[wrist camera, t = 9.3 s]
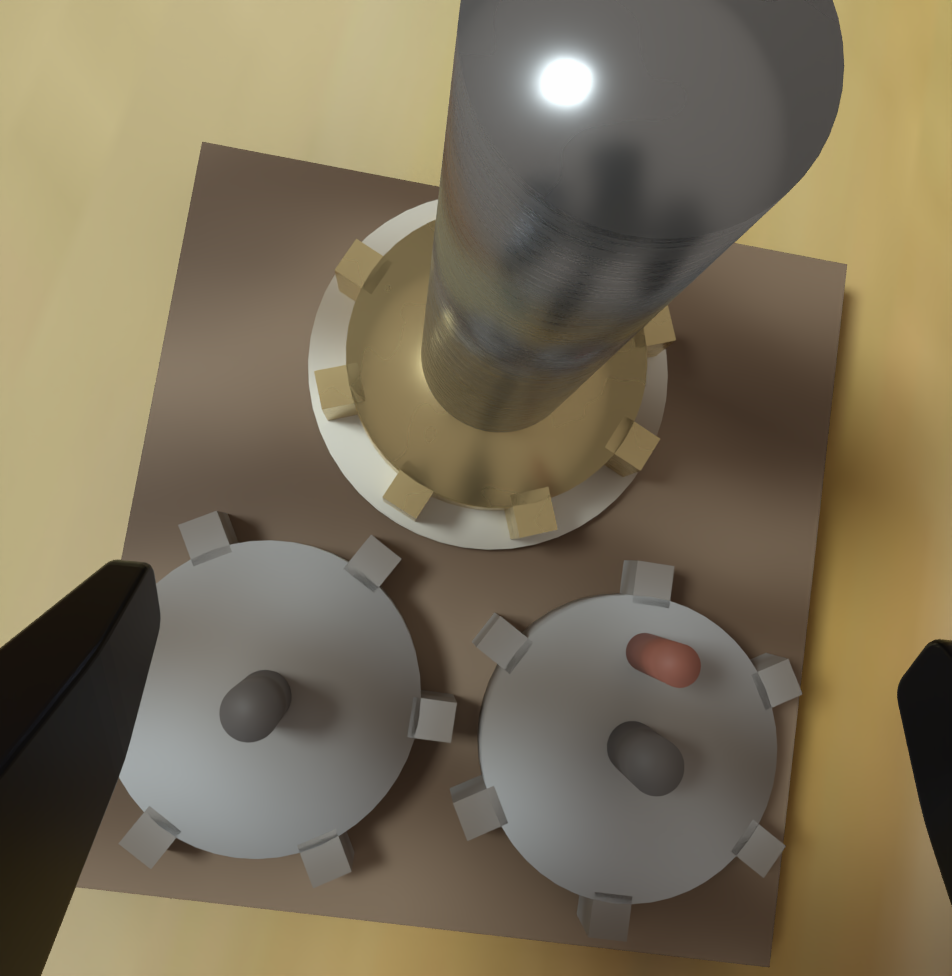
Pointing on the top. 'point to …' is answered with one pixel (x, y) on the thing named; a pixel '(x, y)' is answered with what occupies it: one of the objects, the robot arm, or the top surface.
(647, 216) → the gear with grey post
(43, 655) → the robot arm
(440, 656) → the gear board
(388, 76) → the top surface
